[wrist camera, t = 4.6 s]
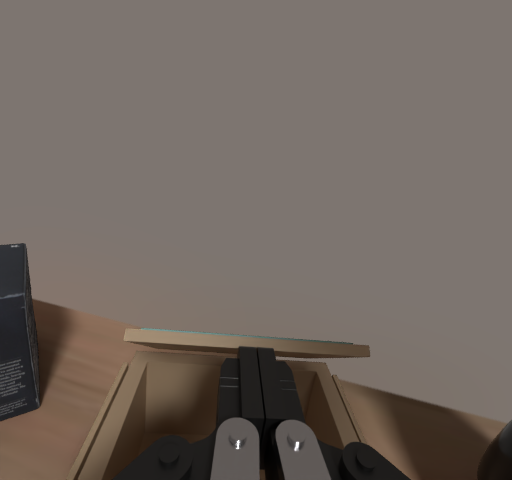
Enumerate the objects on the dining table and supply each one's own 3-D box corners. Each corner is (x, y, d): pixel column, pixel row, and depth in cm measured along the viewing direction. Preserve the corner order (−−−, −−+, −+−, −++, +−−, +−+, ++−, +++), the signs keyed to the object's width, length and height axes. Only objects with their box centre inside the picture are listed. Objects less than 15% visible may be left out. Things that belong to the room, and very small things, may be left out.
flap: (307, 349, 23) (368, 343, 14) (308, 358, 22) (370, 356, 14) (159, 339, 21) (126, 325, 13) (158, 348, 21) (123, 340, 13)
